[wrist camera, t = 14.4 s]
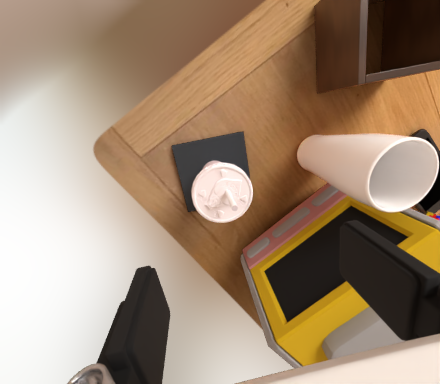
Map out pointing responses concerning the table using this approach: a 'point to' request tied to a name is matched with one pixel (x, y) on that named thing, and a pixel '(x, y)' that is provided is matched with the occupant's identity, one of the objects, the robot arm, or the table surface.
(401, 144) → the drinking glass
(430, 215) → the building blocks
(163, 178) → the table surface
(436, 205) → the smartphone
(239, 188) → the smoothie
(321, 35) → the holder
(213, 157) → the mat
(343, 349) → the alarm clock
